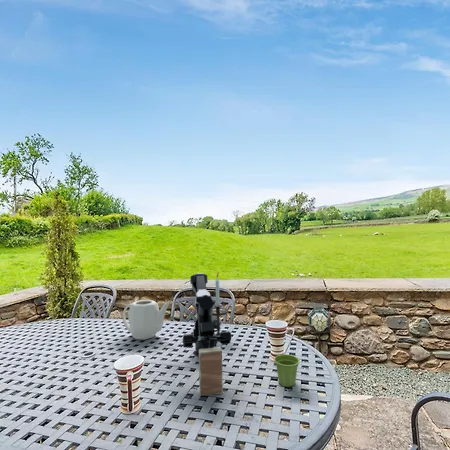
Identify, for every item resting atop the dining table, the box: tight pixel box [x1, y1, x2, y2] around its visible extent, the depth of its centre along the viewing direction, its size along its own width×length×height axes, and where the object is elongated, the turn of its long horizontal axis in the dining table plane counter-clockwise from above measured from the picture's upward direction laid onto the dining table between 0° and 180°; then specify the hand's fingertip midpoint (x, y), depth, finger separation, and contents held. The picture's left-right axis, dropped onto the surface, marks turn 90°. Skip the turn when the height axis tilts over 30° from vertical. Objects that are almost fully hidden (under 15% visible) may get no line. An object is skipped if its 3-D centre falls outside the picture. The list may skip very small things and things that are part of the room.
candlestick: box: [212, 271, 229, 336], centre depth 163 cm, size 11×11×35 cm
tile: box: [198, 346, 224, 396], centre depth 109 cm, size 3×8×15 cm, turn 99°
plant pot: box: [273, 353, 301, 388], centre depth 115 cm, size 9×9×9 cm
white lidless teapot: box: [122, 299, 171, 340], centre depth 168 cm, size 16×27×19 cm, turn 83°
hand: (208, 361), depth 115 cm, fingers closed
